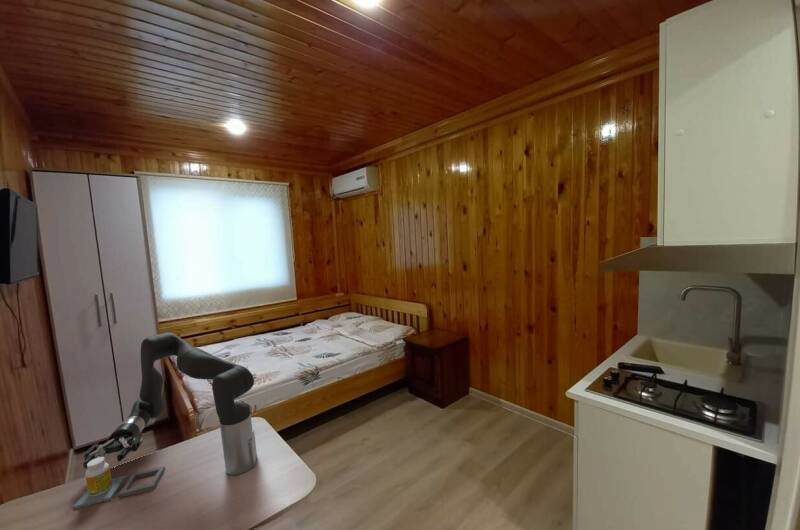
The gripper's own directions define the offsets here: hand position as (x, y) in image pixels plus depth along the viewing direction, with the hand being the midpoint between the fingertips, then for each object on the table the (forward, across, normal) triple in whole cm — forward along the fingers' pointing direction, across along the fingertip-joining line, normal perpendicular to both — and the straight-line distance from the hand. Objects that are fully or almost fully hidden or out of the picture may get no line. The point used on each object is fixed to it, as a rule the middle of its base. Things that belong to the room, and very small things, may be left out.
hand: (102, 462), depth 102 cm
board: (+3, 0, +8) cm, 9 cm away
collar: (+3, +11, +8) cm, 14 cm away
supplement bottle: (+3, 0, +8) cm, 8 cm away
